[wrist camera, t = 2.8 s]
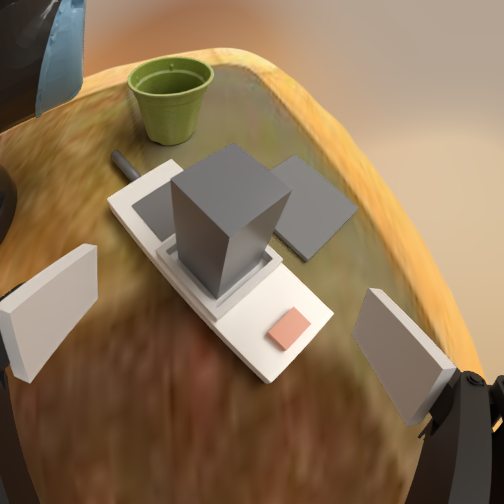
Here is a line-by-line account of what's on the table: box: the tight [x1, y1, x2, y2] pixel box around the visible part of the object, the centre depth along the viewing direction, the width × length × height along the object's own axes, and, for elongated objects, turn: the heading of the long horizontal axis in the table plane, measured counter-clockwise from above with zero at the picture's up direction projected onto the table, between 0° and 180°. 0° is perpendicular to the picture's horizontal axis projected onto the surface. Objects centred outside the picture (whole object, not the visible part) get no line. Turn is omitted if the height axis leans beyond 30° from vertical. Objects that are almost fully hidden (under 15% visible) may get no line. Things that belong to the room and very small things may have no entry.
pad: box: [270, 155, 359, 262], centre depth 31 cm, size 10×10×1 cm
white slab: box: [107, 150, 334, 383], centre depth 26 cm, size 28×8×3 cm, turn 45°
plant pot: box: [127, 57, 214, 145], centre depth 30 cm, size 9×9×9 cm
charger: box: [170, 143, 292, 300], centre depth 20 cm, size 5×5×10 cm
